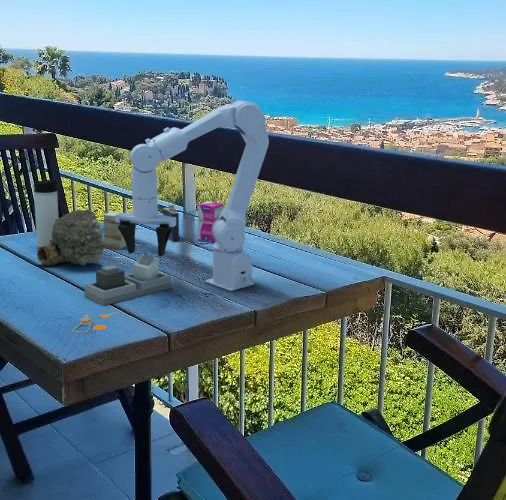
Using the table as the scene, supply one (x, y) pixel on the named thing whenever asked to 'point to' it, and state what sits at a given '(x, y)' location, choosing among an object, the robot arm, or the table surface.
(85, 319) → the key chain
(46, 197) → the travel mug
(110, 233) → the skincare box
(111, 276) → the twin plug
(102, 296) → the socket strip
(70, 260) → the grey brown rough lump
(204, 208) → the supplement box
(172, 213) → the flask
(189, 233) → the table surface
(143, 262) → the grey plug
